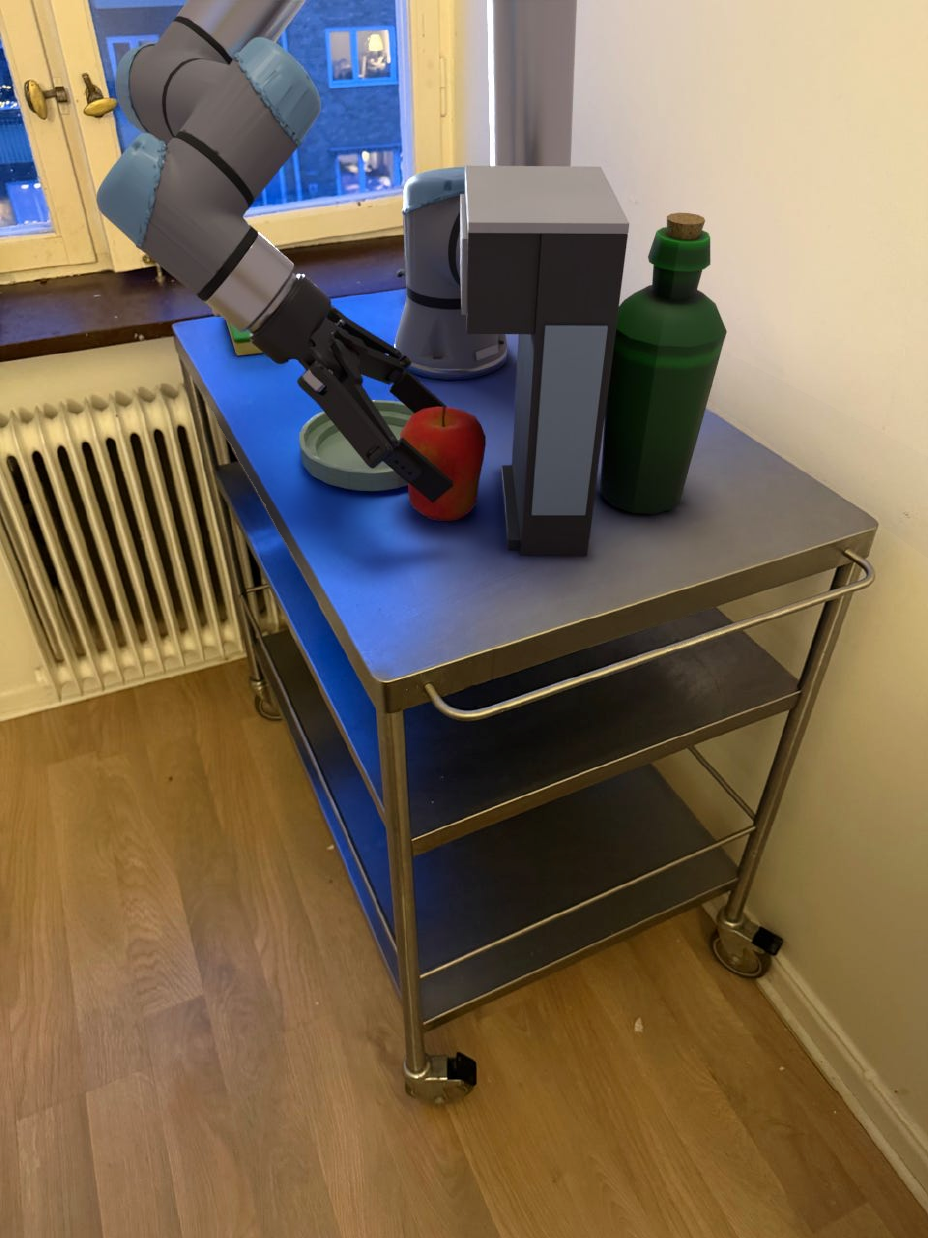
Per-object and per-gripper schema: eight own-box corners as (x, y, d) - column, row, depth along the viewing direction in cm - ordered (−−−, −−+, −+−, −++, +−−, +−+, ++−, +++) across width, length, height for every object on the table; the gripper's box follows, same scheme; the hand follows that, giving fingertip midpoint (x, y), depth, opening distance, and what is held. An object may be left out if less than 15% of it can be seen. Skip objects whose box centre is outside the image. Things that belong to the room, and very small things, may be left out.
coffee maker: (459, 558, 85) (463, 223, 65) (458, 469, 97) (460, 165, 77) (587, 558, 85) (630, 224, 65) (569, 469, 98) (601, 166, 77)
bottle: (696, 479, 96) (755, 207, 78) (682, 532, 89) (743, 244, 70) (601, 461, 99) (635, 195, 81) (579, 511, 91) (611, 229, 73)
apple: (392, 496, 93) (386, 393, 85) (465, 481, 95) (466, 379, 88) (419, 541, 87) (416, 434, 79) (497, 523, 89) (501, 418, 82)
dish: (280, 444, 101) (276, 420, 99) (404, 411, 107) (403, 388, 105) (339, 512, 91) (336, 488, 89) (473, 471, 97) (473, 447, 95)
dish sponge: (236, 356, 119) (233, 339, 117) (225, 317, 129) (222, 301, 127) (289, 350, 120) (287, 333, 119) (274, 312, 130) (272, 296, 129)
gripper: (267, 282, 88) (420, 418, 98) (217, 396, 69) (413, 551, 79) (315, 226, 85) (468, 374, 95) (276, 331, 66) (473, 502, 76)
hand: (443, 455), depth 87 cm, fingers open, 13 cm apart
